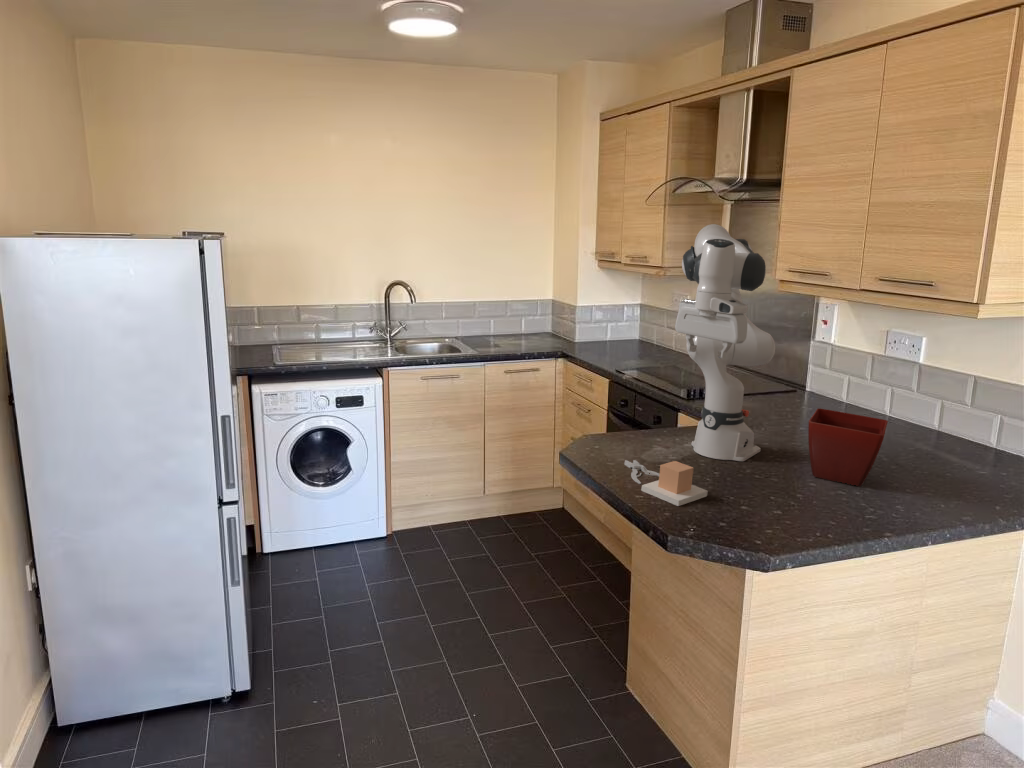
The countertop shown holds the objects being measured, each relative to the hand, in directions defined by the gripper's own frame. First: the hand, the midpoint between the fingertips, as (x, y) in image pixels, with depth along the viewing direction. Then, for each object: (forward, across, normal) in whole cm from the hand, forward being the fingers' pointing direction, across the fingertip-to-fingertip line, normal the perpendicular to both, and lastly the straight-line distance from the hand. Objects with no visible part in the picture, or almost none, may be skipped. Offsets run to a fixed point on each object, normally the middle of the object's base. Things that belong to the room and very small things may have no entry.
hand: (706, 354), depth 188 cm
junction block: (+35, +4, -13) cm, 38 cm away
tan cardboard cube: (+34, +4, -13) cm, 36 cm away
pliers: (+36, -11, -8) cm, 38 cm away
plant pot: (+35, +22, +40) cm, 58 cm away
